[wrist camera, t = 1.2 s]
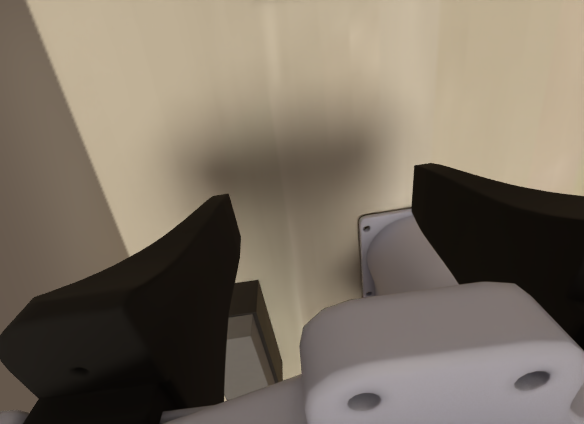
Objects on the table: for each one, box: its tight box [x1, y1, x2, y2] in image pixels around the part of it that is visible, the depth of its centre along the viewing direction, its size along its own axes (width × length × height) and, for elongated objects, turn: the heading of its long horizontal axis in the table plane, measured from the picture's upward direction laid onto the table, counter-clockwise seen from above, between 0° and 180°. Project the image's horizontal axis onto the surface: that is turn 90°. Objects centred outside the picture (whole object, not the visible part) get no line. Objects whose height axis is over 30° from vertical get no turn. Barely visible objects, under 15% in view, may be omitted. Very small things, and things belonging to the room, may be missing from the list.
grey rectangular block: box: [224, 280, 283, 401], centre depth 27 cm, size 12×4×6 cm, turn 9°
